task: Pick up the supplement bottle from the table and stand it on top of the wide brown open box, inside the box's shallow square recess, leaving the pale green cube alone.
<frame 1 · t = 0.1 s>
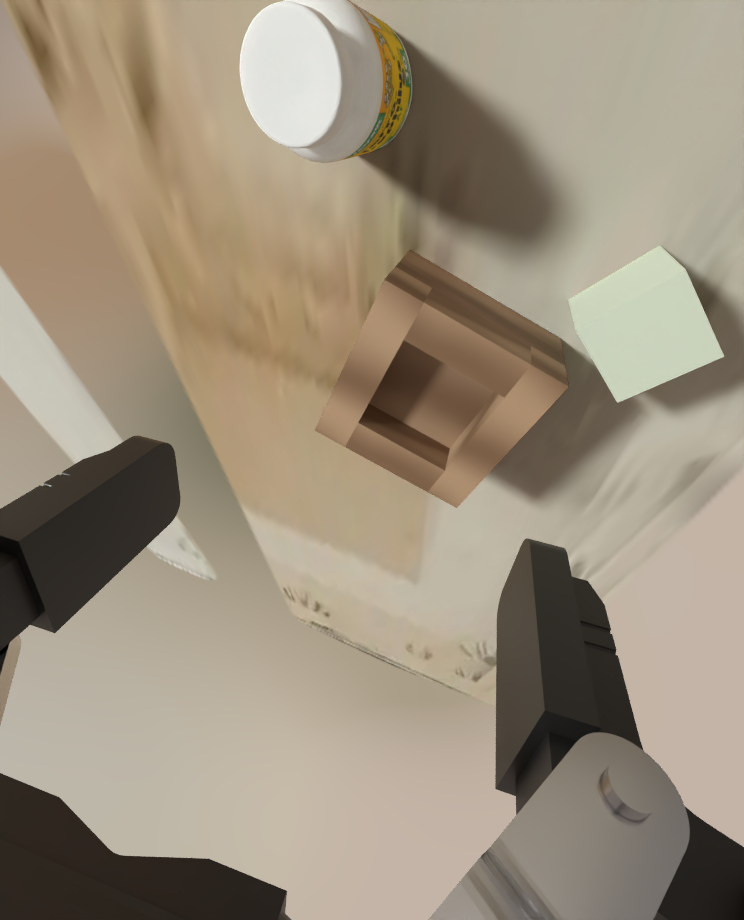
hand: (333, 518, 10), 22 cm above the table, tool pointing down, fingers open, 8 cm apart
green cube: (629, 309, 26), on the table
brown open box: (441, 364, 31), on the table
supplement bottle: (365, 90, 23), on the table
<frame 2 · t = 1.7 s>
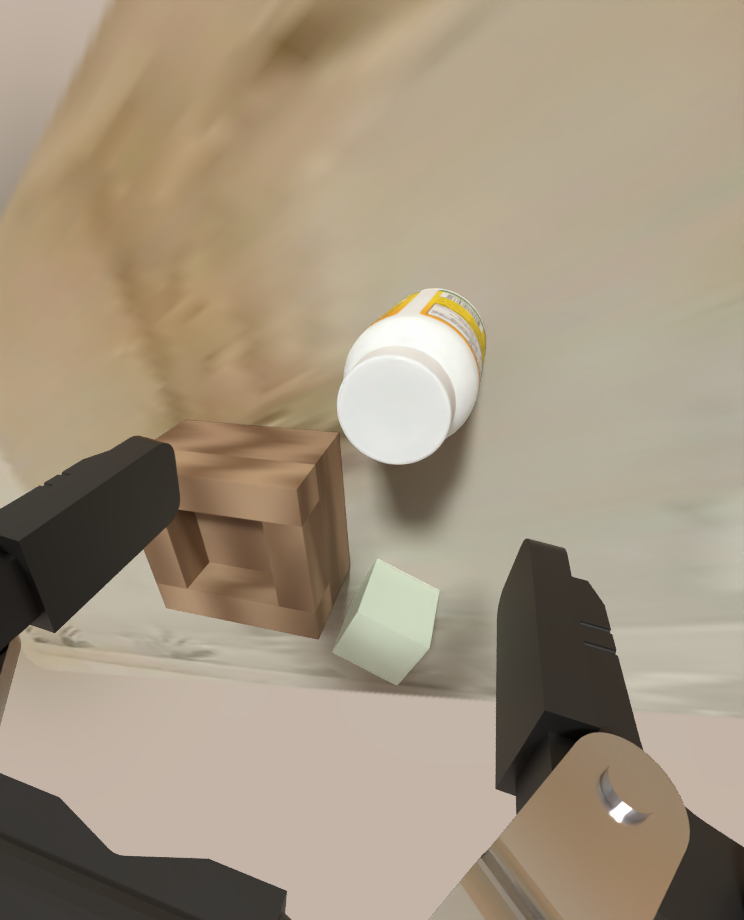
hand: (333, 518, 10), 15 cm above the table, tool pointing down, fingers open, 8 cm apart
green cube: (394, 593, 33), on the table
brown open box: (271, 496, 31), on the table
supplement bottle: (433, 340, 23), on the table
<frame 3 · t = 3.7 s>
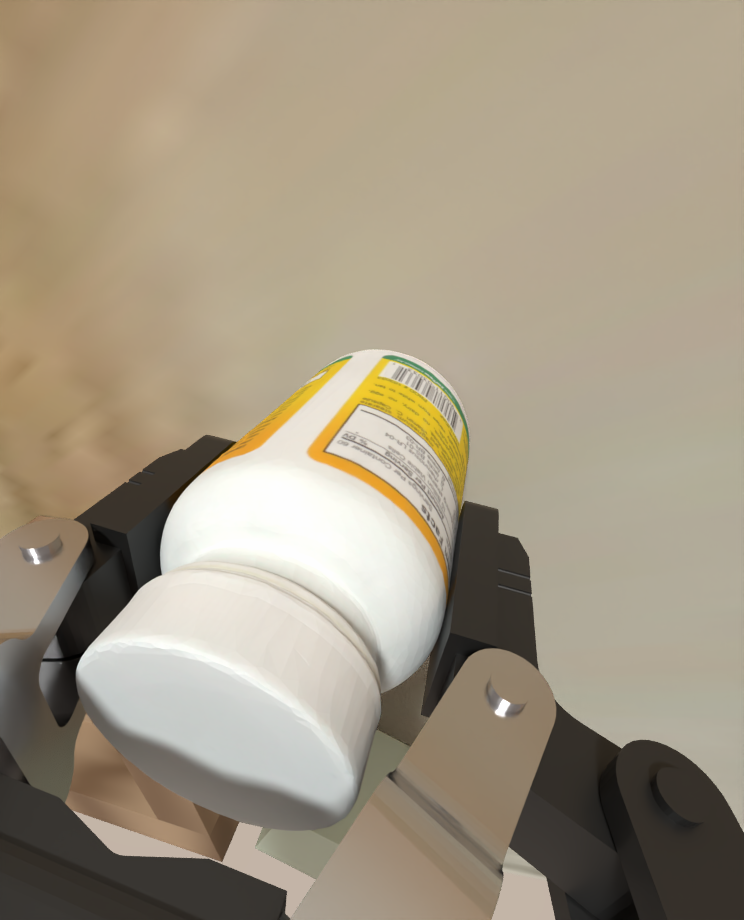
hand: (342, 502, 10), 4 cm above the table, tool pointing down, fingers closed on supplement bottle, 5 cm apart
green cube: (350, 742, 23), on the table
brown open box: (171, 618, 22), on the table
supplement bottle: (384, 427, 14), on the table, touching gripper
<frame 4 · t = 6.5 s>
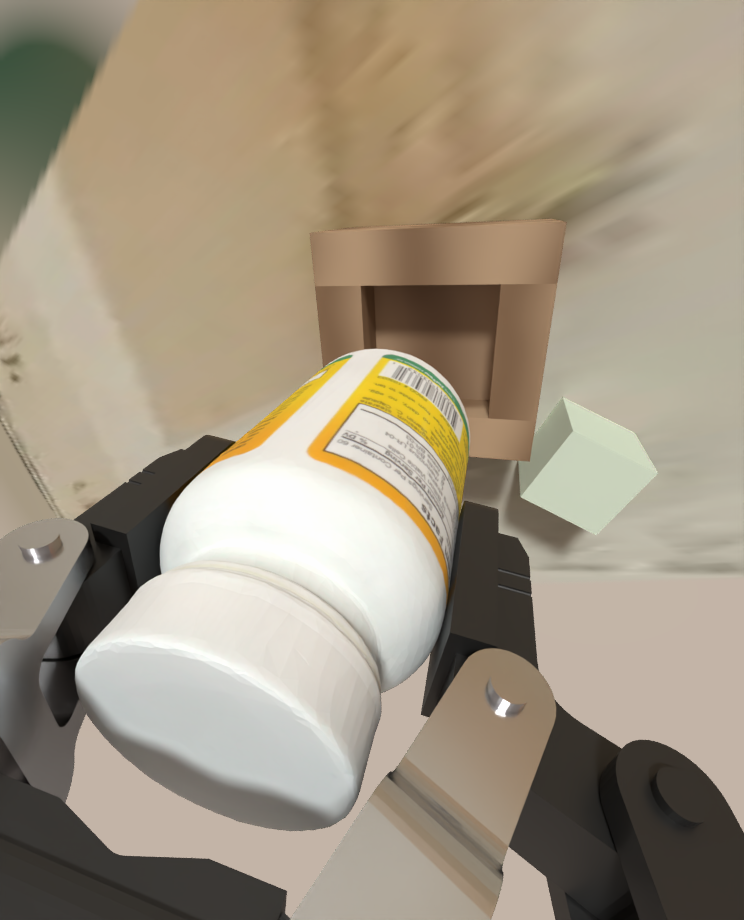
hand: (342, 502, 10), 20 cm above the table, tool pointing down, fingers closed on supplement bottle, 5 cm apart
green cube: (573, 445, 29), on the table
brown open box: (442, 324, 27), on the table
supplement bottle: (384, 427, 14), point 15 cm above the table, touching gripper
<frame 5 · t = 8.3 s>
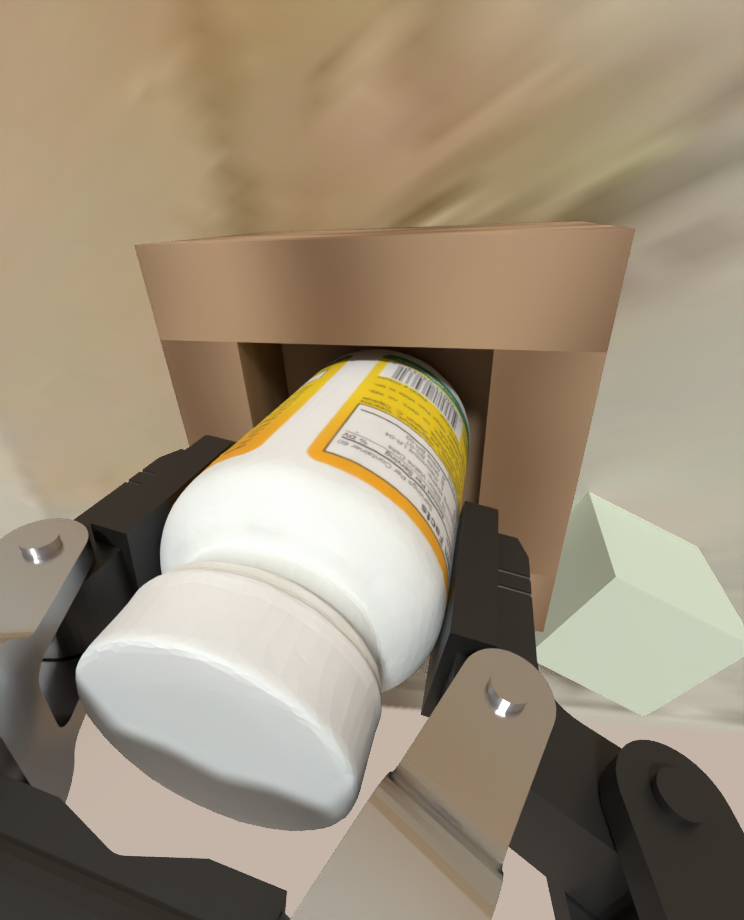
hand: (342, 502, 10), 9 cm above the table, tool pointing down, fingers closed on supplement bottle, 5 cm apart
green cube: (602, 556, 19), on the table
brown open box: (405, 382, 17), on the table
supplement bottle: (384, 427, 14), point 4 cm above the table, touching gripper
when the fingers open (8 cm above the table, at t = 9.8 s): supplement bottle stays where it is, resting on brown open box.
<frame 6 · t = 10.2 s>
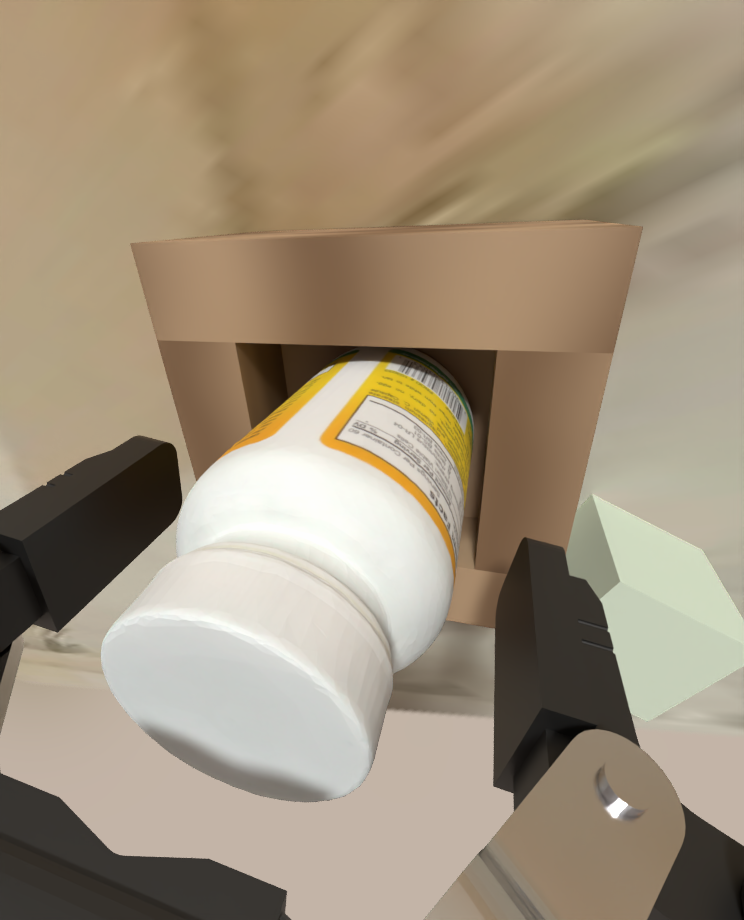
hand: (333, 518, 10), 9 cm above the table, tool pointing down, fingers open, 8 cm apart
green cube: (605, 559, 19), on the table
brown open box: (406, 383, 17), on the table
supplement bottle: (389, 421, 14), point 4 cm above the table, touching brown open box
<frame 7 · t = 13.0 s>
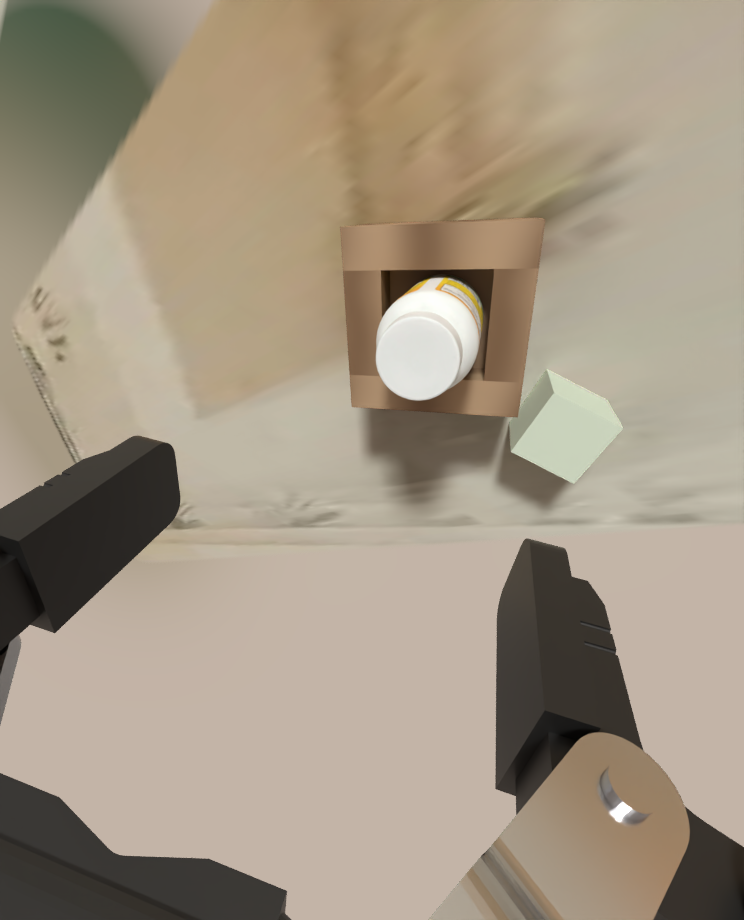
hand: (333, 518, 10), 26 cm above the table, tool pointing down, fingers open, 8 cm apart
green cube: (556, 411, 33), on the table
brown open box: (445, 307, 32), on the table
supplement bottle: (441, 317, 28), point 4 cm above the table, touching brown open box
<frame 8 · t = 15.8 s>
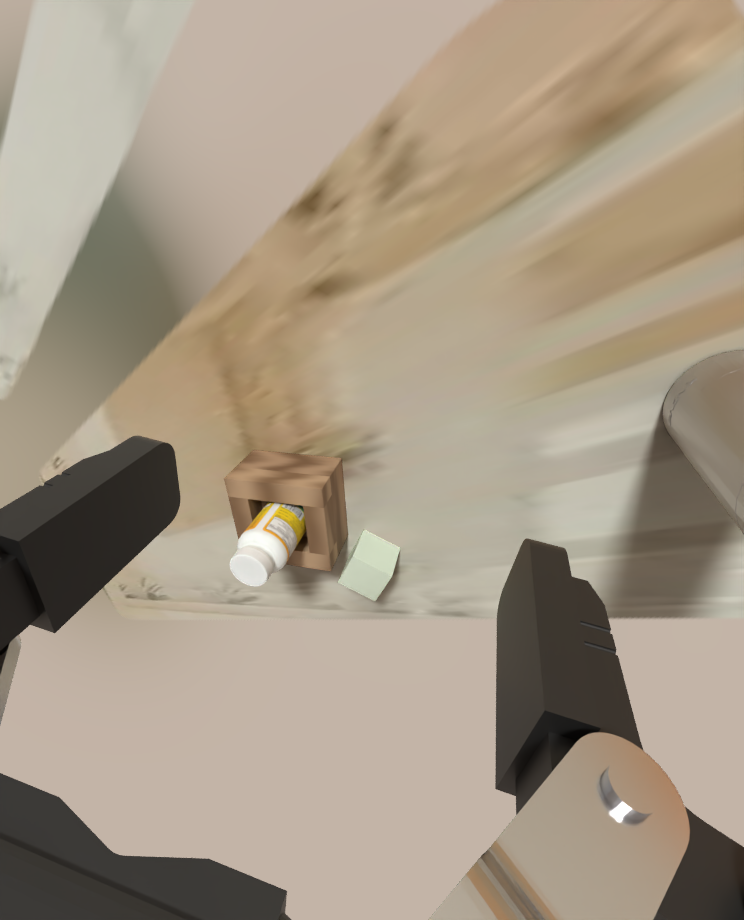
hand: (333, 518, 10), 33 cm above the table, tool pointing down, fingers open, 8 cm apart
green cube: (374, 551, 55), on the table
brown open box: (301, 493, 53), on the table
supplement bottle: (290, 511, 50), point 4 cm above the table, touching brown open box
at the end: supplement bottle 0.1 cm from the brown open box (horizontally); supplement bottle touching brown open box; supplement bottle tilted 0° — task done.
